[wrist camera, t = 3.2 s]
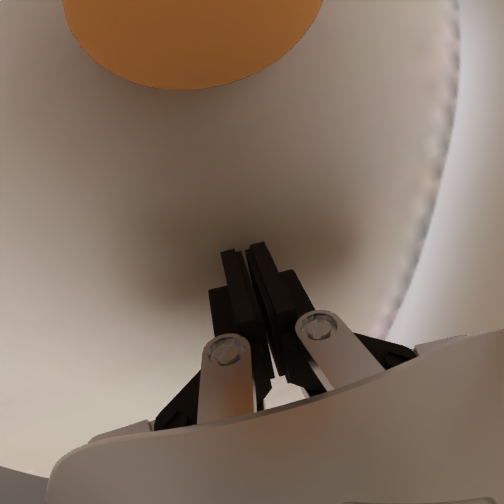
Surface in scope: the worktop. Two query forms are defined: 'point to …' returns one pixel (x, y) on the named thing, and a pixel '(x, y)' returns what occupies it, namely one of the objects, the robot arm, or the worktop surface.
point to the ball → (188, 37)
